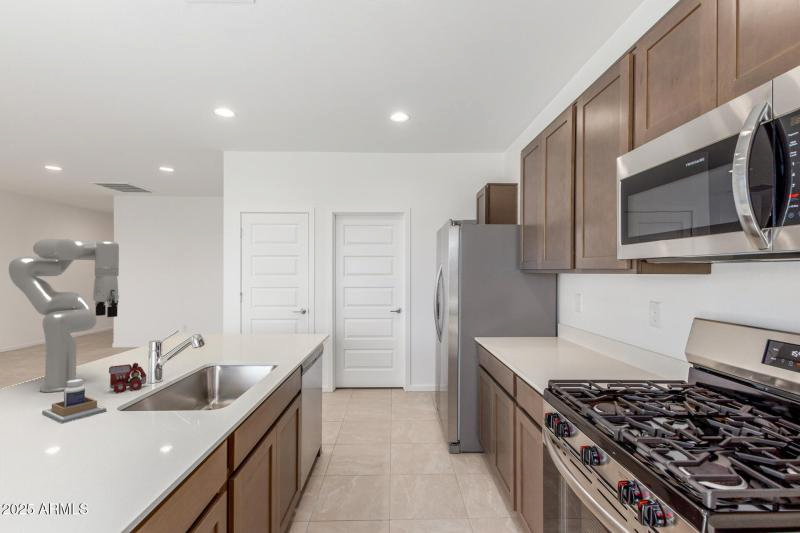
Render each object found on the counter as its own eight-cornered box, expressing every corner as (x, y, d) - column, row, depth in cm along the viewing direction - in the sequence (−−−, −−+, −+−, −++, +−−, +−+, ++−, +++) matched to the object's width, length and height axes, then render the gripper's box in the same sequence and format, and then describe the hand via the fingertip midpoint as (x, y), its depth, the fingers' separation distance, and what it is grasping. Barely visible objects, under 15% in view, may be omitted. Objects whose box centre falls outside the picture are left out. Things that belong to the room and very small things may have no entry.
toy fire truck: (147, 388, 156) (147, 363, 156) (109, 394, 148) (109, 368, 148) (145, 384, 161) (145, 360, 162) (108, 390, 154) (108, 364, 154)
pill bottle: (88, 407, 131) (88, 379, 131) (70, 413, 126) (71, 383, 126) (78, 405, 133) (78, 377, 133) (60, 411, 128) (60, 381, 128)
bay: (42, 413, 128) (42, 403, 128) (85, 403, 138) (85, 393, 138) (61, 423, 120) (62, 412, 120) (106, 411, 130) (106, 401, 130)
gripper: (85, 272, 152) (84, 315, 151) (106, 272, 143) (105, 318, 143) (107, 272, 158) (107, 314, 158) (128, 272, 149) (128, 316, 149)
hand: (106, 316), depth 150 cm, fingers open, 9 cm apart
